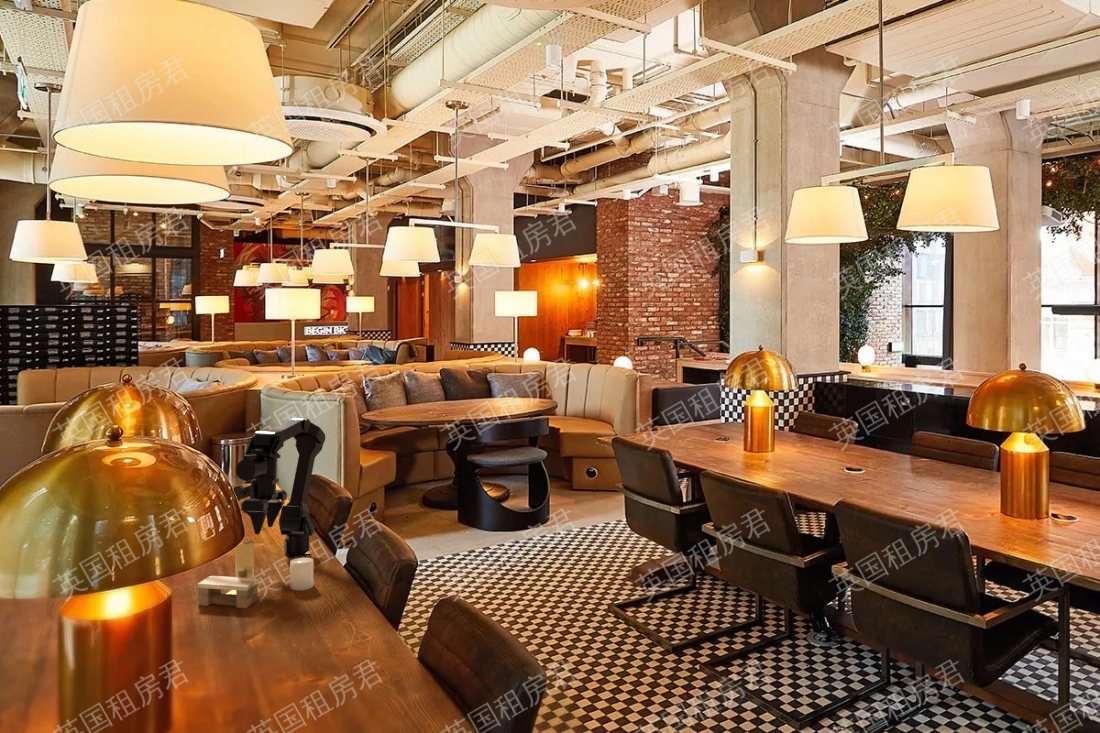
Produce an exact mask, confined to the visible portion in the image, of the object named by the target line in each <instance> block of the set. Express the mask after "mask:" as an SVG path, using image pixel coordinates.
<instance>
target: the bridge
mask: <svg viewBox="0 0 1100 733" xmlns="http://www.w3.org/2000/svg"><path fill="white" fill-rule="evenodd" d="M259 579H260V578H240V577H235V576H224V575H222V576H220V575H210V576H208V577H206V578H204V579H203V580H201V581H199V582H198V583H197V588H198V606H205V607H206V606H207V607H208V606H210V605H224V606H225V605H226V606H235V607H236V609H237V608H239V609H247V608H248V607H249V606H251V605H252V604H254V603H255V602H257V601H258V598H259V597H258V587H259V586H258V585H259V584H258V583H260V581H259ZM222 590H228V591H231V590H236V595H235V594H226V593H221V592H222Z"/></svg>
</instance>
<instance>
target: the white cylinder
mask: <svg viewBox="0 0 1100 733" xmlns="http://www.w3.org/2000/svg"><path fill="white" fill-rule="evenodd" d="M289 563H290V564H289V579H290V580H289V588H290V589H291V590H293V591H305V590H310V589H312V588H313V587H314V559H313V558H312V557H311V558H310V557H297V558H296V557H295V558H294V559H291V560H290V562H289Z"/></svg>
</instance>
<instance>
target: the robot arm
mask: <svg viewBox="0 0 1100 733" xmlns="http://www.w3.org/2000/svg"><path fill="white" fill-rule="evenodd" d="M292 438H293V439H294V441H295V448H296V451H297V453H298V458H297V463H296V468H295V473H294V479H293V482H292V484H293V485H292V488H291V494H290V499H289V502H287V503H286V504H285V501H287V500H288V493H287V492H286V490H284V489H277V483H279V482H280V478H278V477H277V476H278V475H277V473H278V472H277V470H278V459H280V458H281V454H279V451H280V450H282V448H283V447H284V444H285V442H286V441H288V440H290V439H292ZM325 441H326V434H325V432H324V431H323V429H322V428H321V427H320V426H319V425H316V424H315V423H314V422H313V423H312V422H311V420H310V419H309V418H307V417H298V416H297V417H293V418H291V419H290V420H288V421H287V422H285V423H282V424H281V425H278V426H276V427H275V428H271V429H270V428H269V429H261V430H257V431H255V432H254V434H253V436H252V437H251V439H250V442H249V443H248V444H249V445H248V446H247V448H246V451H245V453H244V455H243V456H242V458H243V459H241V460H240V461H239V462H238V463H237V465H236V467H235V473H236V475H237V477H238V478H239V479H240V480H242V481H250V484H249V485H245V486H243V485H241V484H238V485H237V486H233V489H234V492H235V494H236V496H237V499H238V501H237V502H239V501H242V500H243V501H242V502H241V504H240V511H241V512H243V513H244V514H246V515H248V516H249V519H250V521H251V524H252V528H253V531H254V535H260V533H261V531H262V528H263V526H264V523H265V521H266V522H267V527H268V528H273V526H274V523H275V521H276V519H277V518H278V516H279V518H278V526H279V530H280V535H281V536H285V538H284V540H283V553H284V552H285V553H286V554H287V555H288V556H289V557H288V556H287V555H286V554H285V553H284V554H285V555H286V556H287V557H288V558H290V557H291V558H296V557H295V556H298V557H300V556H299V555H304V554H305V553H306V552H307V551H309V552H310V537H311V536H313V534H314V533H315V532H314V531H315V528H316V527H315V524H314V523H313V522H312V520H311V519H310V514H311V512H310V509H309V507H308V504H307V501H308V497H309V496H308V495H309V491H310V485H311V480H312V475H313V470H314V465H315V459H316V457H317V456H318V455H319V453H321V451H322V450H323V446H324V444H325ZM284 504H285V505H284ZM279 514H280V515H279ZM304 556H305V555H304Z"/></svg>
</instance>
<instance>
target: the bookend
mask: <svg viewBox="0 0 1100 733" xmlns="http://www.w3.org/2000/svg"><path fill="white" fill-rule="evenodd" d="M241 541H242V543H241V544H240V545H239V546H238V547H237V548H235V554H234V555H235V557H234V558H235V562H234V563H235V564H234V565H235V568H234V569H235V574H234V575H235V576H234V577H240V578H254V576H255V573H254V572H255V569H254V567H255V566H254V565H255V562H254V561H255V556H254V554H255V550H254V549H255V548H254V547H255V546H254V544H255V543H254V540H251V539H250V540H249V539H248V540H247V539H245V540H241ZM225 594H235V595H236V590H228V592H226V593H225Z"/></svg>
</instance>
